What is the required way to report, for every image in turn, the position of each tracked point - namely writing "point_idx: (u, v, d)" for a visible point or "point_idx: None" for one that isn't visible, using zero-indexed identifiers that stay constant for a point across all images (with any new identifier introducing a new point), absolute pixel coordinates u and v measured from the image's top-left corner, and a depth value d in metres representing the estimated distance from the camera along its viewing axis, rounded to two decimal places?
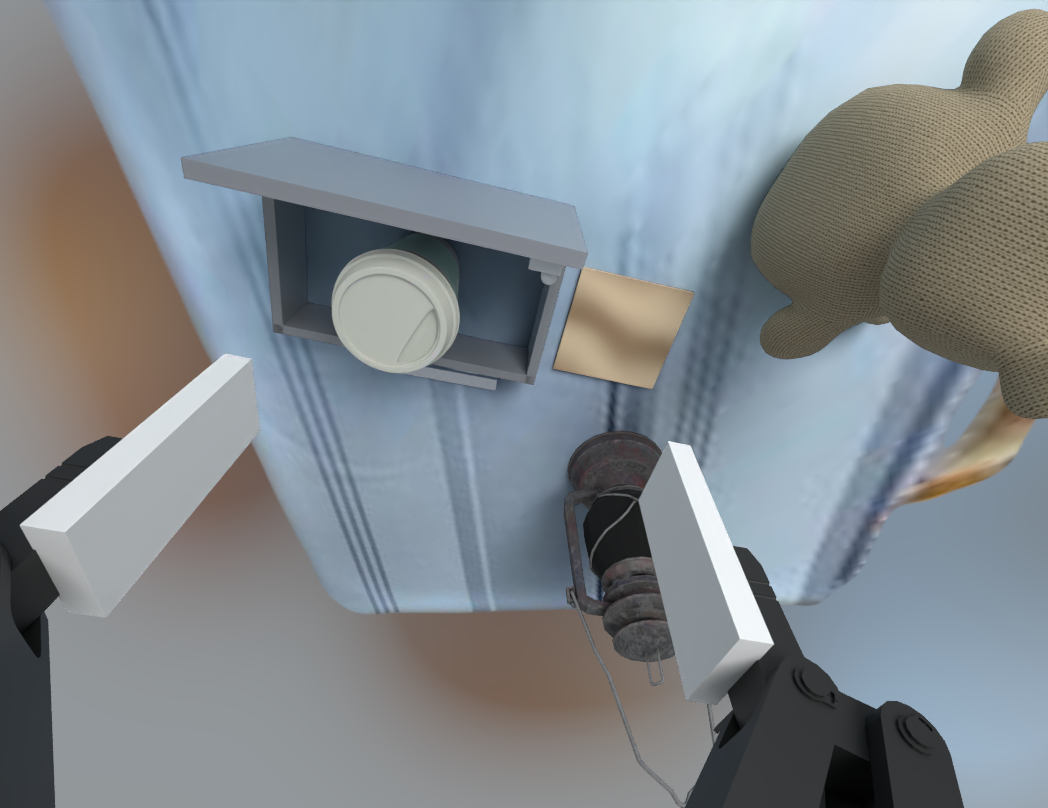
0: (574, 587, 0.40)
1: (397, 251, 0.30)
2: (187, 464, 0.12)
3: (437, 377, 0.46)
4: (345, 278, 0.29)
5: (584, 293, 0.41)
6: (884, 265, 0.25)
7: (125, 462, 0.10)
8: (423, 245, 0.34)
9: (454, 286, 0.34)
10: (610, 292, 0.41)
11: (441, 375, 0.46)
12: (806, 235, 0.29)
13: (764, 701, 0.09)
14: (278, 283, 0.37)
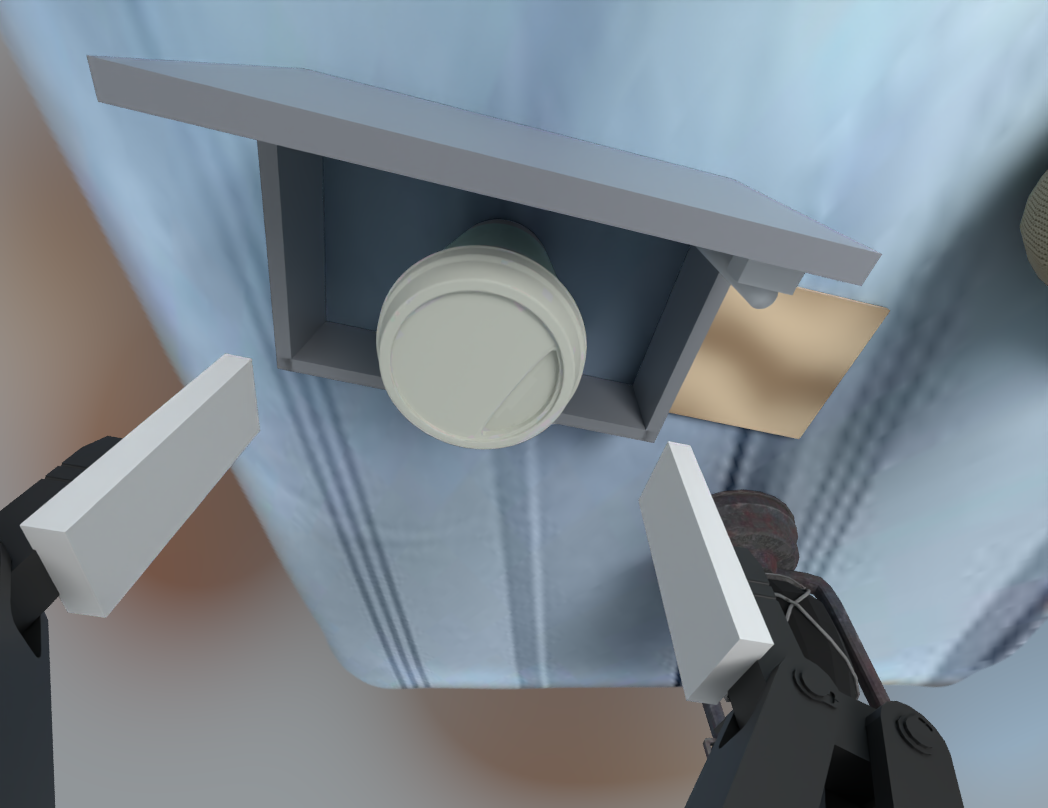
0: None
1: (494, 250, 0.17)
2: (187, 464, 0.12)
3: None
4: (406, 297, 0.16)
5: (728, 309, 0.28)
6: None
7: (125, 462, 0.10)
8: (516, 239, 0.21)
9: None
10: (766, 308, 0.28)
11: None
12: None
13: (764, 701, 0.09)
14: (284, 297, 0.24)
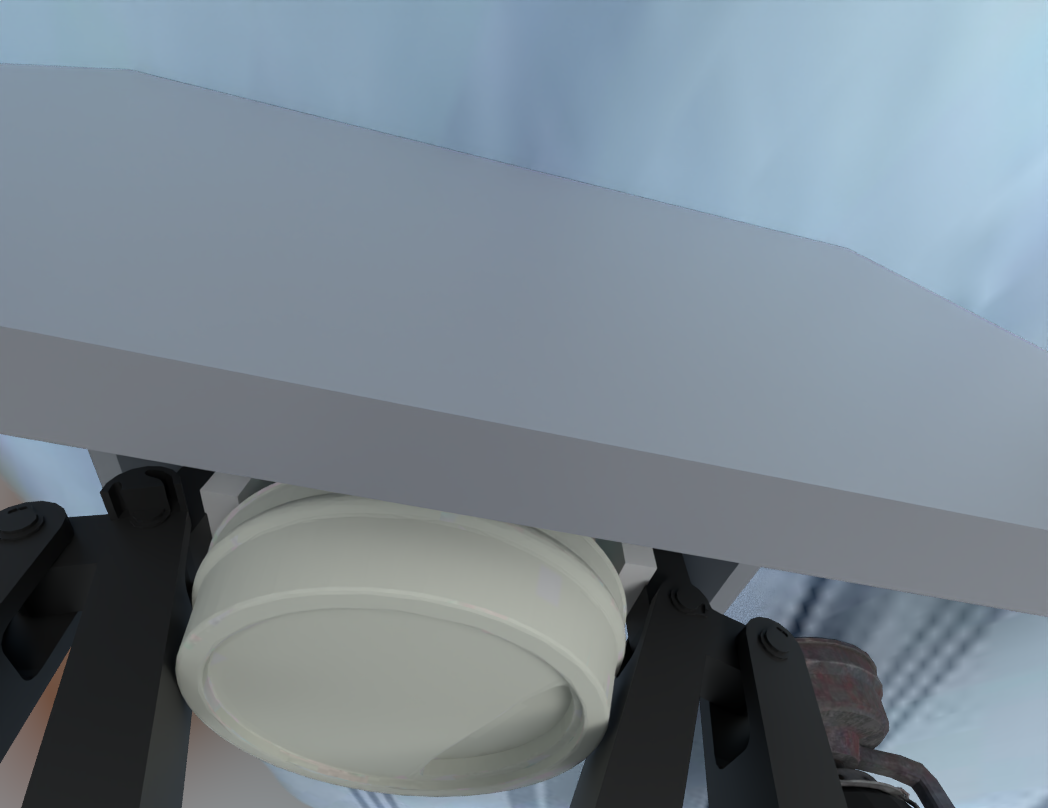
0: None
1: None
2: None
3: None
4: (213, 606, 0.07)
5: None
6: None
7: None
8: None
9: None
10: None
11: None
12: None
13: (647, 626, 0.10)
14: None
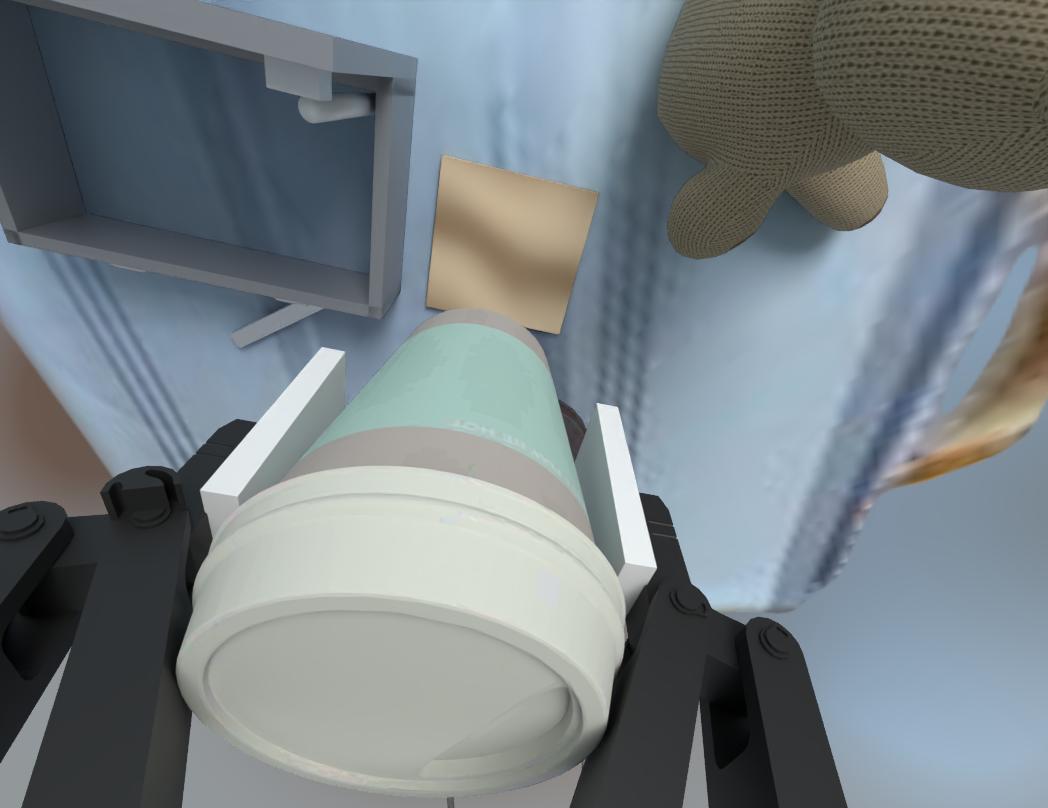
0: None
1: (429, 476, 0.08)
2: (303, 445, 0.13)
3: (281, 324, 0.35)
4: (214, 608, 0.07)
5: (450, 194, 0.30)
6: None
7: (267, 440, 0.11)
8: (492, 377, 0.12)
9: None
10: (485, 193, 0.30)
11: (281, 318, 0.35)
12: (713, 31, 0.18)
13: (647, 626, 0.10)
14: None
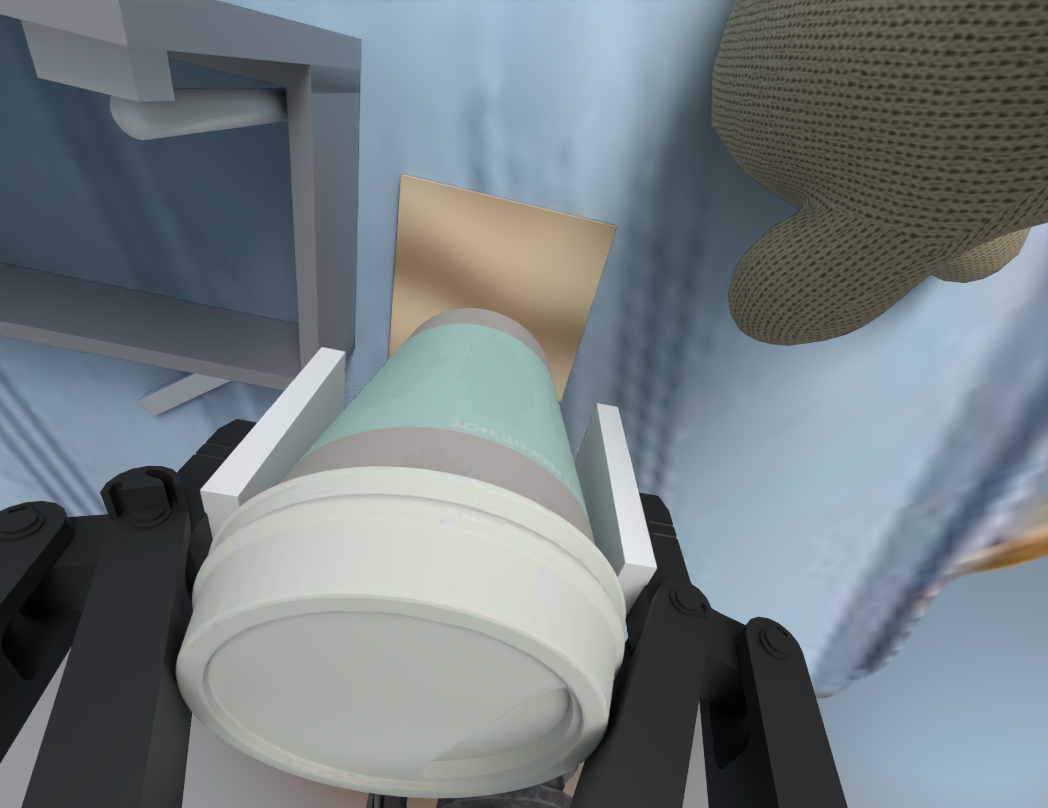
0: None
1: (429, 477, 0.08)
2: (303, 445, 0.13)
3: (202, 388, 0.27)
4: (213, 610, 0.07)
5: (414, 227, 0.22)
6: None
7: (267, 440, 0.11)
8: (492, 377, 0.12)
9: None
10: (461, 225, 0.22)
11: (201, 381, 0.27)
12: None
13: (647, 626, 0.10)
14: None
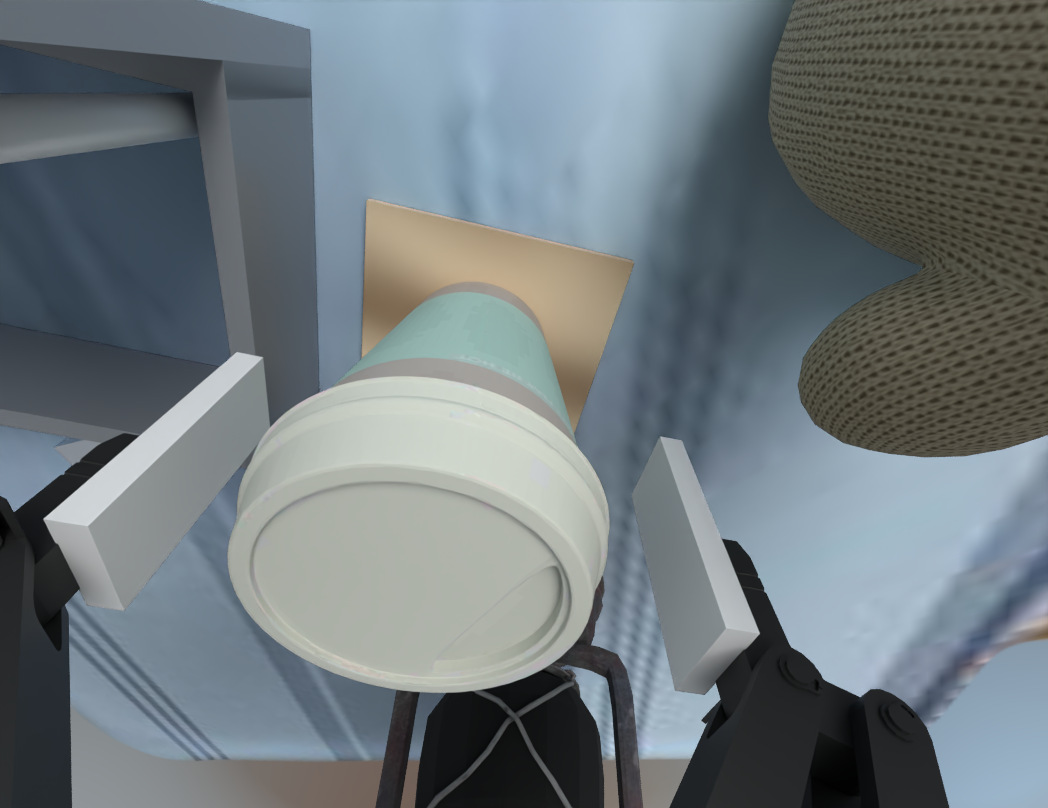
0: None
1: (440, 385, 0.09)
2: (201, 461, 0.12)
3: None
4: (264, 487, 0.08)
5: (385, 262, 0.18)
6: None
7: (143, 458, 0.10)
8: (492, 329, 0.13)
9: None
10: (443, 261, 0.18)
11: None
12: None
13: (750, 691, 0.09)
14: None
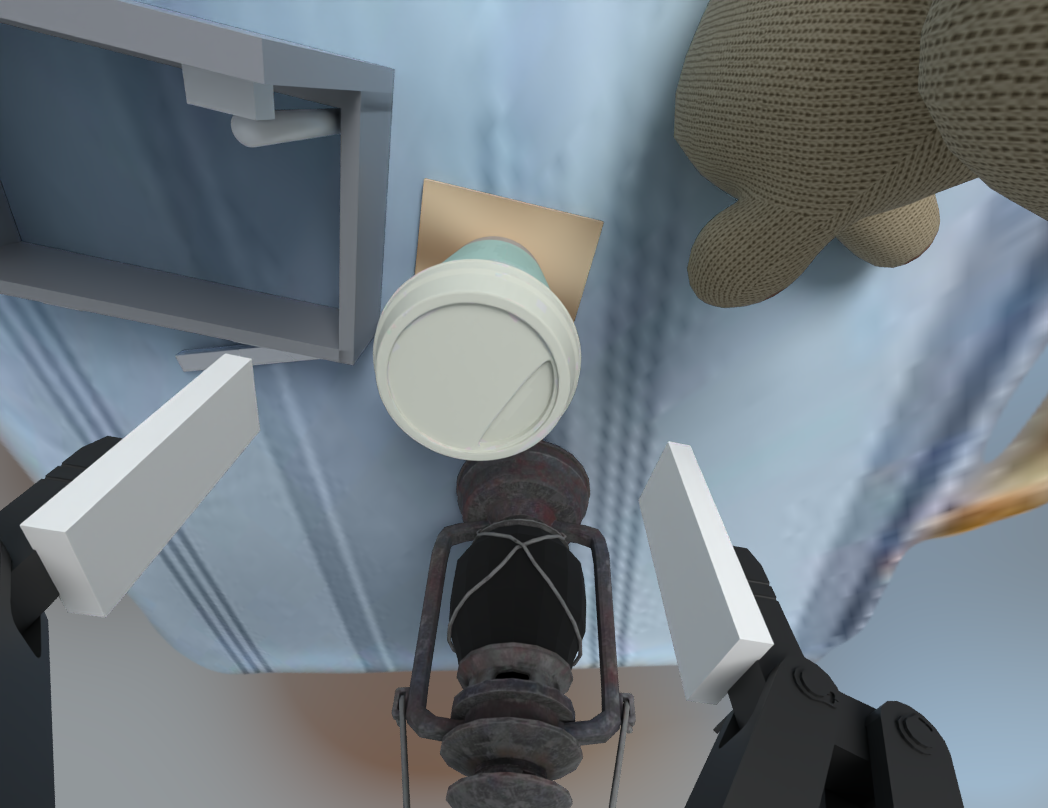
0: (408, 689, 0.25)
1: (489, 263, 0.17)
2: (187, 464, 0.12)
3: None
4: (402, 310, 0.17)
5: (434, 222, 0.26)
6: None
7: (125, 462, 0.10)
8: (510, 254, 0.22)
9: None
10: (473, 221, 0.26)
11: None
12: (753, 36, 0.14)
13: (764, 701, 0.09)
14: None
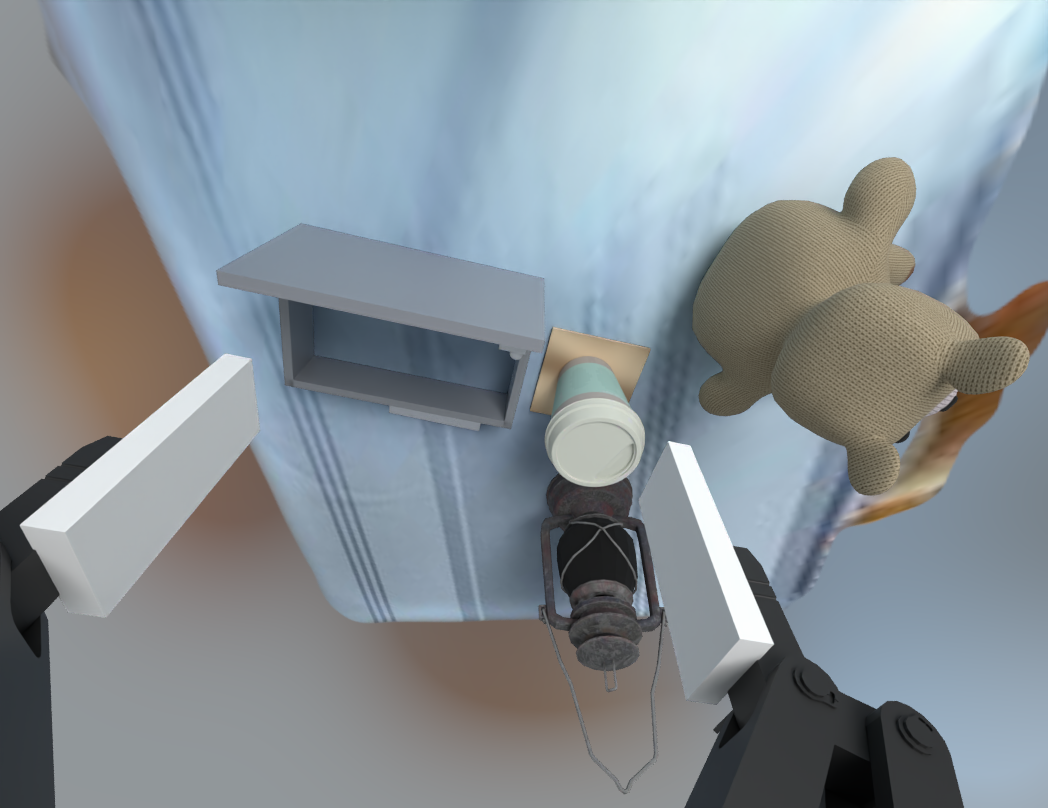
0: (545, 605, 0.46)
1: (605, 400, 0.38)
2: (187, 464, 0.12)
3: (428, 418, 0.52)
4: (569, 423, 0.38)
5: (555, 349, 0.47)
6: None
7: (125, 462, 0.10)
8: (606, 380, 0.43)
9: None
10: (577, 348, 0.47)
11: (431, 416, 0.52)
12: (727, 321, 0.35)
13: (764, 701, 0.09)
14: (289, 346, 0.43)
